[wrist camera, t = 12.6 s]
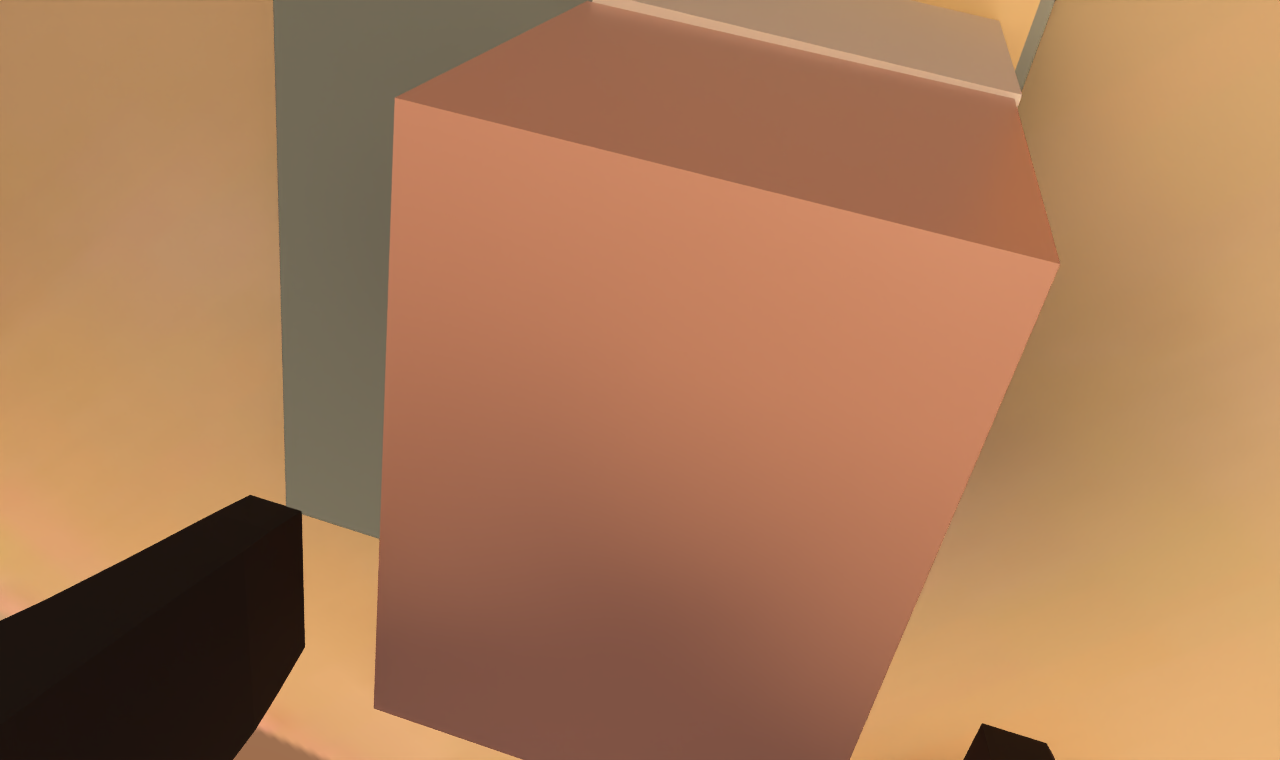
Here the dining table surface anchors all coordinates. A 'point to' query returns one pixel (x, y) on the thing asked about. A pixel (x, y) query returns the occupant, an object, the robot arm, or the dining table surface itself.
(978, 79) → the cream brick
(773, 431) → the terracotta brick
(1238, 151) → the dining table surface
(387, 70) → the baseplate
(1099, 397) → the dining table surface
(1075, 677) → the dining table surface
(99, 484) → the dining table surface
